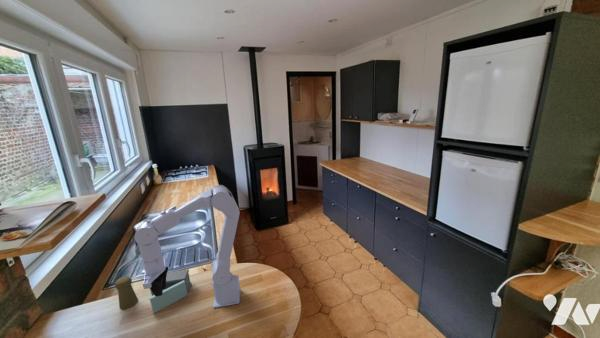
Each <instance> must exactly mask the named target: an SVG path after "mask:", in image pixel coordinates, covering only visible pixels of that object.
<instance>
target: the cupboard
mask: <svg viewBox="0 0 600 338" xmlns="http://www.w3.org/2000/svg"><path fill="white" fill-rule="evenodd" d="M189 272H190V270H189V269H188V268H187V269H182V270H176V271H169V272H167V276H166V288H165V289H167V288H169V287H171V286H173V285H175V284H177V283H179V282H181V281H183V280H184V281H185V285H186V290H187V295H189V290H190V289H191V285H192V281H191V279H190V274H189ZM165 289H163V290H165ZM149 291H150V294H151V296H153V295H154V294H153V292H152V291H151V289H150V288H149Z"/></svg>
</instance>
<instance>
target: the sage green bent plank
mask: <svg viewBox="0 0 600 338" xmlns="http://www.w3.org/2000/svg"><path fill="white" fill-rule="evenodd" d="M187 296H188V294H187V290H186V285H185V281H184V280H183V281H181V282H179V283H177V284H175V285H173V286H171V287H169V288H167V289H165V290H163V293H162V296H155V295H153V296H152V295H151V296H149V302H150V306H151V308H152V309H151V310H152V313H153V314H156V313H158V312H159V311H161V310H163V309H165V308H167V307H168V306H170V305H172V304H174V303H176V302H177V301H179V300H182V299H183V298H185V297H187Z"/></svg>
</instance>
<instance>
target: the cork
mask: <svg viewBox="0 0 600 338" xmlns="http://www.w3.org/2000/svg"><path fill="white" fill-rule="evenodd" d="M132 282H133V281H132V278H131V277H130V276H122V277H120V278H118V279H116V281H115V283H114V288H115V289H116V290H117V294H118V304H119V309H120V310H121V311H125V310H129V309H131V308H132V307H135V306H136V304H138V302H139V299H138V296H137V294H136V291H135V290H134V288H133V285H132Z"/></svg>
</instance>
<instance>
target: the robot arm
mask: <svg viewBox="0 0 600 338" xmlns="http://www.w3.org/2000/svg"><path fill="white" fill-rule="evenodd" d="M212 207H213V208H214V209H215V210H217V211H220V212H221V213H223V214H224V219H223V225H222V230H221V234H220V239H219V245H218V249H217V252H216V255H215V257H214V258H213V260H212V262H211V268H212V269H211V272H212V277H211V278H212V279H211V283H212V288H213V294H214V300H213V305H212V308H213V309H214V308H215V309H216V308H221V307H226V306H231V305H238V304H240V301H241V300H240V299H241V294H242V291H241V285H240V278H239V277H240V276H239V275H238V274H232V272H231V269H230V268H231V256H232V253H233V247H234V242H235V237H236V232H237V229H238V228H237V227H238V223H239V219H240V213H241V212H240V208H239V206H238V204H237V202H236V200H235V198H234V196H233V193H232V192H231V191H230V189H229V188H228V187H226V186H225V185H223V184H217V185H215V186H213V187H212V188H209V189H207V190H205V191H204V192H202V193H200V194H199V195H197V196H196V197H194V198H192V199H191V200H190V201H188V202H186V203H184V204H183V205H181V206H180V207H178V208H177V209H167V210H165V209H164V210H162V211H161V212H160V214H159V215H157V216H156V217H154V218H152V219H150V218H149V219H147V220H146V221H144V222H142V223H141V224H140V225H139V226H138V227H137V229H136V231H135V233H134V238H133V239H134V241H135V243H137V244H138V247H139V253H140V256H141V260H142V264H143V269H142V271H141V274H142V275H144V277H143V282H142V287H143V290H147V289H149V290H150V289H151V290H150V292H151V291H152V292H153V294H154V295H155V296H162V293H163V289H165V288H166V276H167V272H168V271H169V267H168V266H166V265H167V264H166V263H167V262H168V261H167V256H163V252H162V247H161V243H160V241H159V237H158V236H161V235H163V234H164V233H166V232H168V231H169V230H171V229H172V228H174V227H176V226H178V225H179V224H180V221H181V220H182V219H183V218H185V217H186V216H188V215H191V214H192V213H195V212H196V211H198V210H200V209H202V208H204V209H208V210H211V209H212Z"/></svg>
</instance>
